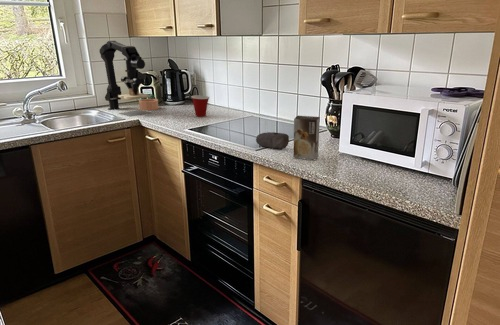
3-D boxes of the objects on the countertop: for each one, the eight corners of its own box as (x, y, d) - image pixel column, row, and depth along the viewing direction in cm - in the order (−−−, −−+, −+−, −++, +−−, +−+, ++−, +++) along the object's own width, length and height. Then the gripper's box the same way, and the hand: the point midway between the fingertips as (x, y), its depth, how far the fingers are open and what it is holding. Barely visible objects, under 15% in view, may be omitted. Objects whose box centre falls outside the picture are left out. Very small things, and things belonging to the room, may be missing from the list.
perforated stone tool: (253, 146, 165) (253, 131, 162) (259, 144, 169) (259, 128, 167) (284, 151, 157) (284, 135, 155) (289, 148, 162) (290, 132, 159)
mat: (118, 114, 234) (118, 113, 234) (139, 110, 244) (139, 110, 244) (130, 117, 224) (130, 116, 224) (152, 114, 235) (152, 113, 234)
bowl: (136, 109, 249) (135, 100, 247) (152, 107, 257) (151, 98, 255) (146, 111, 241) (145, 102, 239) (162, 109, 249) (161, 100, 247)
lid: (118, 97, 232) (117, 88, 230) (138, 94, 241) (137, 86, 240) (129, 99, 222) (128, 90, 221) (150, 96, 232) (149, 88, 230)
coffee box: (318, 156, 151) (321, 116, 146) (315, 160, 146) (317, 119, 140) (296, 153, 154) (297, 115, 149) (292, 158, 149) (293, 118, 144)
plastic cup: (209, 117, 222) (208, 97, 219) (190, 118, 223) (189, 97, 219) (211, 114, 233) (210, 94, 229) (193, 114, 233) (192, 94, 229)
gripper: (151, 68, 226) (153, 94, 231) (135, 66, 238) (138, 91, 243) (134, 69, 218) (137, 96, 223) (119, 67, 230) (121, 93, 235)
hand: (134, 94), depth 231 cm, fingers closed on lid, 4 cm apart
